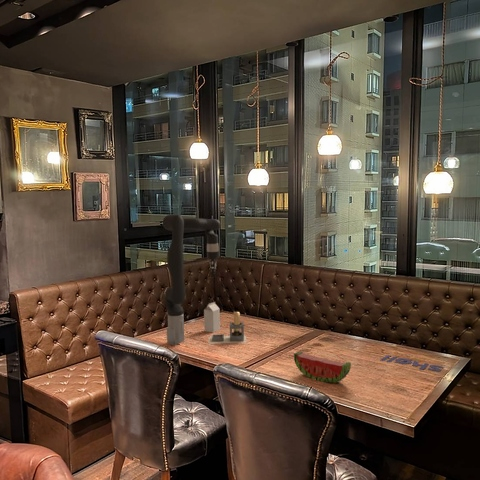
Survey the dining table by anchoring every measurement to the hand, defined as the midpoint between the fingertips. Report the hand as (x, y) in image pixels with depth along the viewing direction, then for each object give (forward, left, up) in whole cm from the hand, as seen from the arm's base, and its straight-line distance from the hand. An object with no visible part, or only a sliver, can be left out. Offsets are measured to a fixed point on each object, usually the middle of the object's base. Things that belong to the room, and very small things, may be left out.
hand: (213, 276), depth 275 cm
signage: (+28, -116, -36) cm, 125 cm away
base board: (-11, -22, -36) cm, 43 cm away
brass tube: (-6, -26, -34) cm, 43 cm away
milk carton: (-4, -2, -36) cm, 36 cm away
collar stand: (-10, -23, -34) cm, 42 cm away
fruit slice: (-18, -94, -36) cm, 102 cm away
